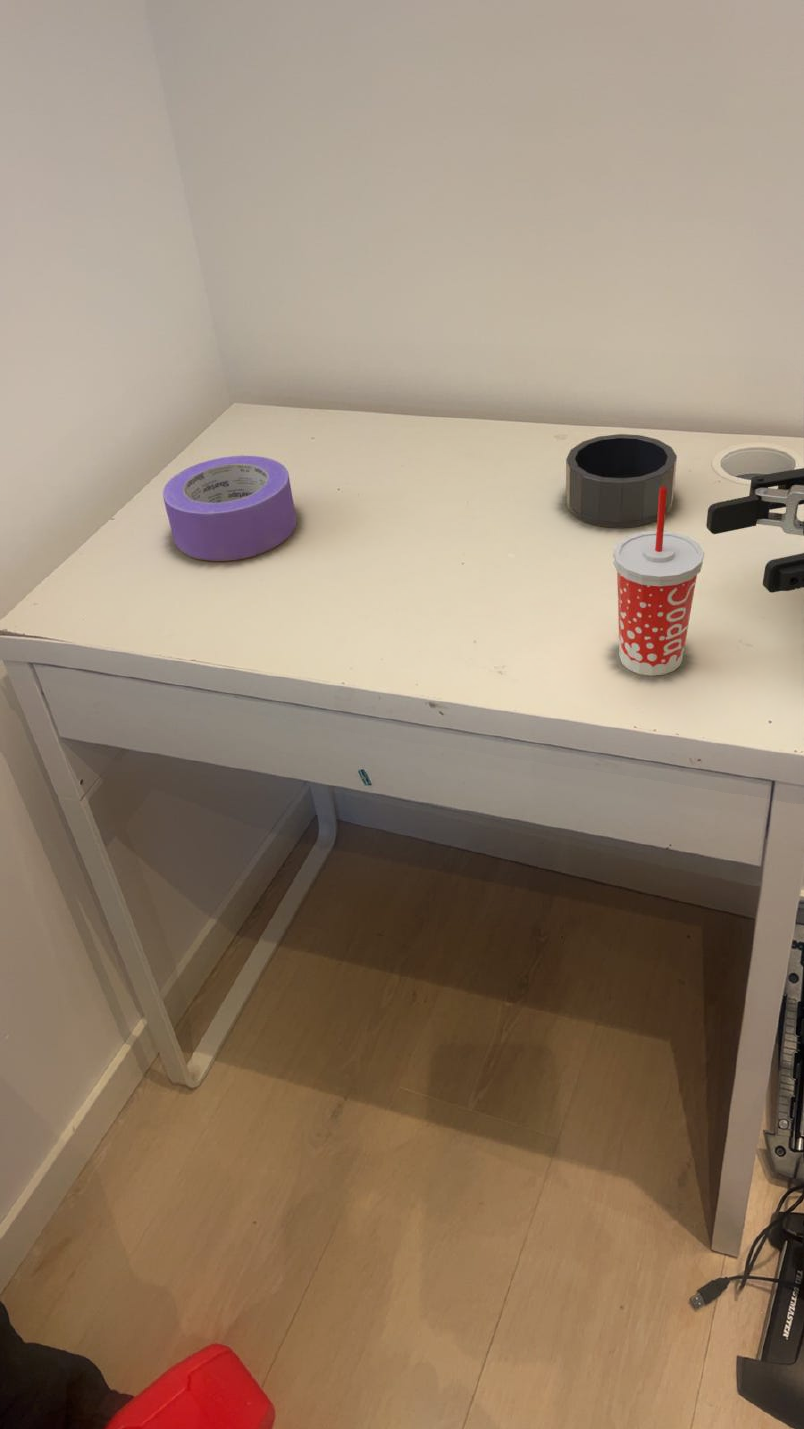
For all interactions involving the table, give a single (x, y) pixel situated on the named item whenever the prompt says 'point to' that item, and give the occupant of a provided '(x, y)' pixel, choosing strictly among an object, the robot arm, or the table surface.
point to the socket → (619, 480)
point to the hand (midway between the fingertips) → (736, 547)
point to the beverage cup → (655, 595)
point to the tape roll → (230, 507)
